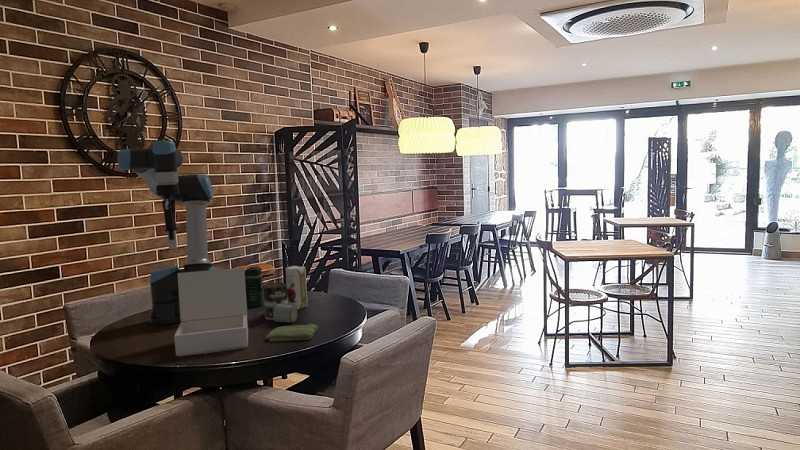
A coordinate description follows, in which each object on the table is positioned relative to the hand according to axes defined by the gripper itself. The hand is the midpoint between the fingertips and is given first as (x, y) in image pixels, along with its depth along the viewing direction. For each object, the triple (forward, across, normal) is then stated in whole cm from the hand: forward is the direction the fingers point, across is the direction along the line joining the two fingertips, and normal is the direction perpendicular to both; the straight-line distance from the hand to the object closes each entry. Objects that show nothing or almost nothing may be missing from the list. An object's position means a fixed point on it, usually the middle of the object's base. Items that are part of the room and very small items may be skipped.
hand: (172, 248), depth 189 cm
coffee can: (+37, -24, +36) cm, 57 cm away
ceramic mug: (+37, -15, +40) cm, 56 cm away
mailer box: (+36, +5, +12) cm, 39 cm away
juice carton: (+37, -36, +46) cm, 69 cm away
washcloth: (+37, +6, +41) cm, 55 cm away
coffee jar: (+37, -49, +27) cm, 67 cm away
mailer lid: (+20, -5, +12) cm, 24 cm away
